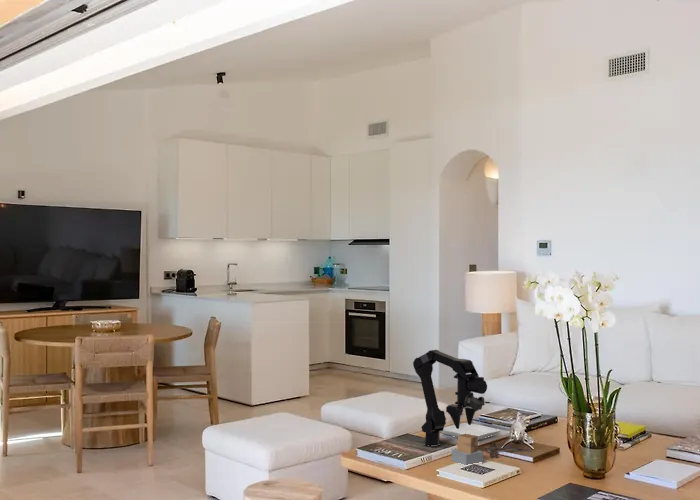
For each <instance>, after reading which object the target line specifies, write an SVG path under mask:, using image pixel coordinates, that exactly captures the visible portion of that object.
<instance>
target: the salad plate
mask: <svg viewBox="0 0 700 500" xmlns="http://www.w3.org/2000/svg"><path fill="white" fill-rule="evenodd" d="M467 430H471V431H472V430H476V431H482V432H490V433H487V434H483V435H480V436H478V439H481V440H483V439H482V438H484V439H486V438H485V437H488V436H491V435H494V436H496V435H498V434H500V432H501V431H502V430H501V429H498V428H493V427H489V426H485V425H482V424H475V423H471V425H468V422H460V425H459V429H457V428H456V426H455V424H452V425H448V426H444V429H443V431H440V433H441V434H445V435H446V434H447V435H446V436H449V435H451V436H450V437H452V436H455V437H454V438H456V437H458V436H460V435H462V434H460V432H463V431H467ZM457 432H458V433H457ZM495 434H496V435H495ZM491 437H492V436H491ZM488 438H489V437H488Z"/></svg>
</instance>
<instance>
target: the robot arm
mask: <svg viewBox="0 0 700 500" xmlns="http://www.w3.org/2000/svg"><path fill="white" fill-rule="evenodd" d="M435 363H440V364H442V365H445V366H446V367H450V368H451V369H452V371H453V372H454V373H456V374H455V375H453V379H456V380H457V384H456V385H457V390H456V391H455V392H454V394H455V395H456V398H457V399H456V401H455V402H454V403H453V404H449V405H447V406H446V408H445V411H446V413H447V414H448V415H449V416H450V418H451V419H452V420H451V421H452V422H453V425H455V426H456V428H457V429H459V425H460V424H461V417H463V415H464V412H465V416H466V421H467V422H466V423H468V425H471V424H473V418H474V416H475V414H476V412H477V411H479V410H482V408H483V406H485V397H483V396H479V397H475V396H474V393H476V394H480V395H484V394H485V393H486V392H487V390H488V383H487V382H486V380H485V377H483V376H479V374H478V371H477V369H476V367H475V366H474V363H473V361H472V360H470V359H465V358H457V357H454V356H452V355H449V354H447V353H444V352H441V351H440V350H439V349H432V350H429V351H427V352H426V353H424V354H422V355H420V356H419V357H416V358H414V360H413V362H412V366H413V368H414V371H415V373H416V375H417V376H418V377H419V379H420V382H421V387H422V390H423V395H424V400H425V404H426V408H427V409H426V413H425V422H424V423H423V424H422V425H421V431H422V433H425V442H424V443H423V444H425V445H429V446H428V447H430V446H431V445H438V444H439V443H440V435H441V431H443V429H444V427H446V426H445V425H446V423H447V421H446V420H447V417H446V415H445V411H444V410H441V409H440V408H439V405H438V400H437V396H436V395H437V394H436V391H435V388H434V382H433V378H432V373H433V370H434V367H433V365H434V364H435ZM425 445H424V446H425Z"/></svg>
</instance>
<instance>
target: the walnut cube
mask: <svg viewBox="0 0 700 500" xmlns="http://www.w3.org/2000/svg"><path fill="white" fill-rule="evenodd" d="M478 447H479V440H478V436H476V435H471V434H466V433H465V434H462V435H460V436H458V438H457V449H458V451H460V452H465V453H470V454H471V453H473V452H476V451H478V450H479V449H478Z"/></svg>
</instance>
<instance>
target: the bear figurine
mask: <svg viewBox="0 0 700 500" xmlns="http://www.w3.org/2000/svg"><path fill="white" fill-rule="evenodd" d="M506 449H512V447H509V448H505V447H502V448H500V447H499V446H497V445H496V443H495V442H494V441H492V442H490V443H489V445H488V446H487V447H484V446H483V447H482V446H478V450H487V451H489V454H488V455H489V457H490V458H491V459H493V458H495V459H498V458H499V452H498V451H500V452H501V451H502V450H506Z"/></svg>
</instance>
